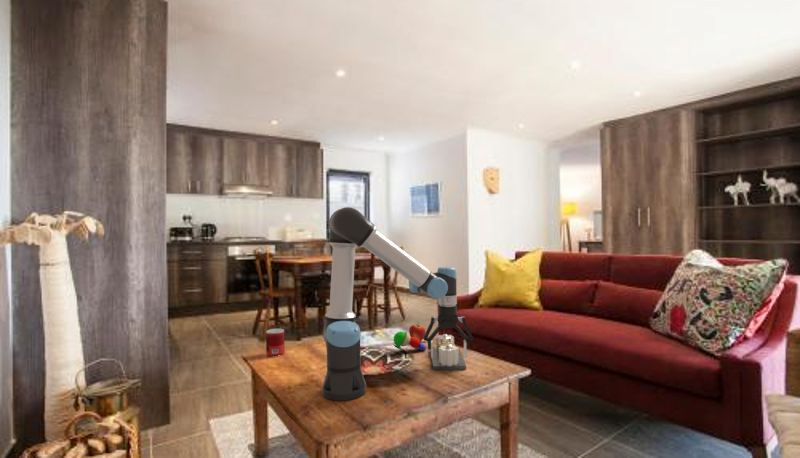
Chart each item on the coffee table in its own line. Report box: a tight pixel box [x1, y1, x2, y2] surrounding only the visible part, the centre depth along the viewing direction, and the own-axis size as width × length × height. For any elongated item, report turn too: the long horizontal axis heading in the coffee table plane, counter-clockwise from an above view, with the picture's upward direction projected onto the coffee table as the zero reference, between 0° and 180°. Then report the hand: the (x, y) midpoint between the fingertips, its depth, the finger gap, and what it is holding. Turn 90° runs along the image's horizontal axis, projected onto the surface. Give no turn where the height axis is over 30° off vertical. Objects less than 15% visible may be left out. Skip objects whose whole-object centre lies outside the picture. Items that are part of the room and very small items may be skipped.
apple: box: [408, 323, 427, 342], centre depth 202 cm, size 8×8×10 cm
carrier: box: [431, 333, 467, 371], centre depth 173 cm, size 13×25×8 cm, turn 178°
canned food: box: [265, 328, 285, 357], centre depth 185 cm, size 8×8×11 cm
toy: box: [392, 331, 427, 352], centre depth 186 cm, size 8×8×15 cm
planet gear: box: [439, 345, 459, 366], centre depth 165 cm, size 8×8×6 cm
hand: (448, 357), depth 165 cm, fingers open, 13 cm apart
